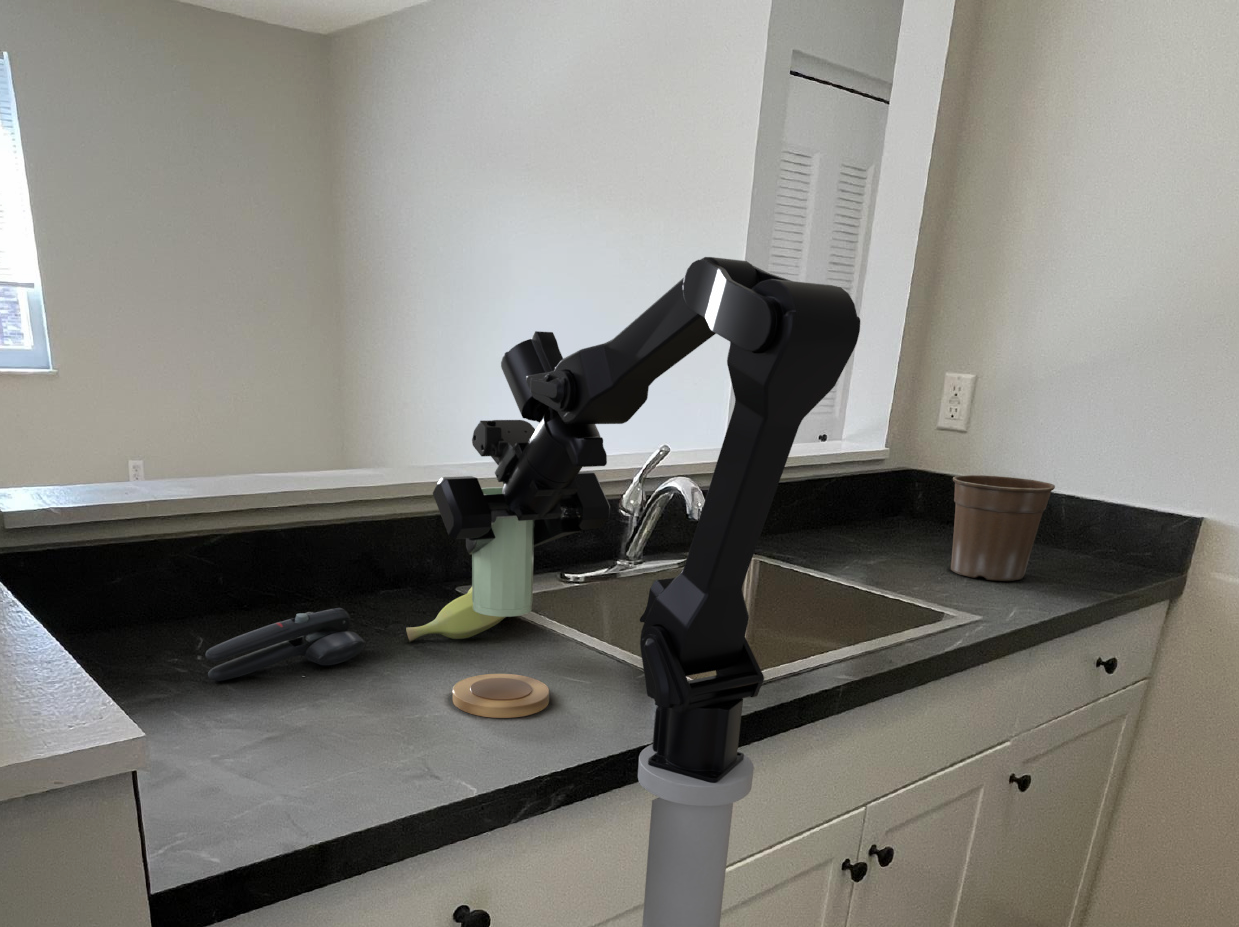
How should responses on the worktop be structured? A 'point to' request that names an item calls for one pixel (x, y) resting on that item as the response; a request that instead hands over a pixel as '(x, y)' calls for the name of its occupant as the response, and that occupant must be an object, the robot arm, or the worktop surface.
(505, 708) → the coaster
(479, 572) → the tumbler
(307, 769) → the worktop surface
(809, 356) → the robot arm
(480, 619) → the banana
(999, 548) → the plant pot
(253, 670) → the can opener
